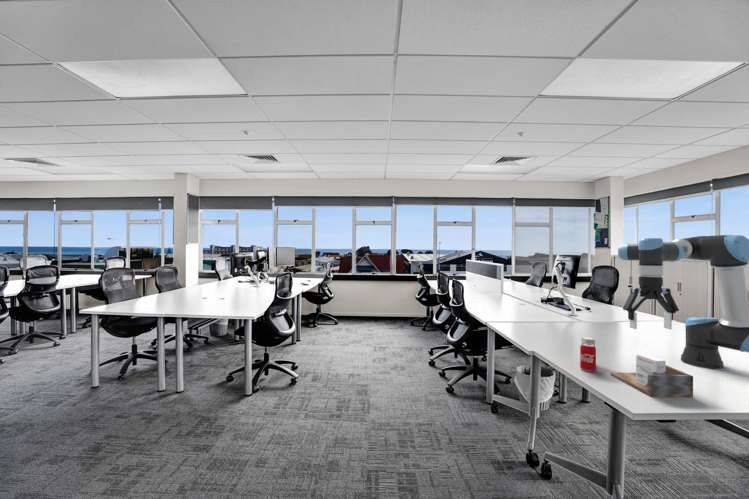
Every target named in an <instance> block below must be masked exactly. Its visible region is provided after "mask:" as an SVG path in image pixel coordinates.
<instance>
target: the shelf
mask: <svg viewBox="0 0 749 499" xmlns="http://www.w3.org/2000/svg"><path fill="white" fill-rule="evenodd" d="M610 376H612V377H613V378H616V379H617V380H618V381H619V380H620V382H623V383H625V384H626V385H628V386H630V387H632V388H633V389H635V390H637V391H638V392H640V393H642V394H645V395H646V396H648V397H650V398H651V397H653V398H657V397H658V398H685V399H687V398H692V399H693V398H694V375H691V374H689V373H687V372H684V371H682V370H679V369H676V368H674V367H672V366H669V365H666V375H661V374H648V387H646V386H643V385H641V384H638V383H636V372H613V371H611V372H610Z"/></svg>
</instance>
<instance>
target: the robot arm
mask: <svg viewBox="0 0 749 499" xmlns="http://www.w3.org/2000/svg"><path fill="white" fill-rule="evenodd" d="M617 255H618V257H619V259H621V260H622V261H638V275H639V276H638V285H639V288H638V287H631V289H630V292H629V295H628V296H627V297H628V298H627V299H626V301H625V302H624V305H623V307H622V310H624V311H626V312H627V315H628V316H627V319H628V320H629V329H634V330H637V329H638V328H637V327H638V313H637V312H636V311H637V310H638V309H639V308H640V306H641V305H643V303H644V302H645V301H647V300H656V301H657V302H658V303H659V305H660V306H661V307H662V308H663V309H664V312H663V329H667V330H672V327H673V326H672V323H673V322H672V321H674V314H676V312H679V311H680V309H679V308H678V305H677V304H676V301H675V300H674V298H673V295H672V293H671V292H672V290H671V289H670V288H668V287H663V286H664V278H663V276H664V262H669V263H672V262H677V261H678V262H679V261H680V260H695V261H709V264H710V267H712V268H713V269H714V270H715V273H716V279H717V281H716V282H717V286H718V294H719V301H720V307H721V314H722V317H721V319H719V318H717V317H708V316H694V317H693V316H692V317H691V316H690V317H688V318H686V320H685V326H684V327H685V347H684V348H683V352H682V354H681V355H680V361H681V362H683V363H685V364H688V365H690V366H691V365H692V366H696V367H700V368H705V369H706V368H707V369H715V370H716V369H718V370H719V369H723V368H724V365H725V364H724V360H722V356H721V353H720V351H719V347H720V348H724V349H729V350H734V351H738V352H742V353H749V298H748V292H747V285H746V284H747V283H746V278H745V276H746V275H745V270H744V268H745V267H747V266H748V264H749V238H747V237H746V236H744V235H741V234H735V235H734V234H721V235H699V236H698V235H697V236H691V237H686V238H684V237H683V238H677V239H674V240H672V241H664V240H663V238H661V237H659V238H658V237H646V238H645V237H643V238H641V239H639V241H638V243H625V244H621V245H619V247H618V249H617Z"/></svg>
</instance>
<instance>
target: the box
mask: <svg viewBox="0 0 749 499" xmlns="http://www.w3.org/2000/svg"><path fill="white" fill-rule="evenodd" d="M582 343H590V344H593V345H595V346H596V339H594V338H592V337H591V336H589V337H587V336H586V337H585V336H581V344H582Z"/></svg>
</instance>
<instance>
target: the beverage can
mask: <svg viewBox="0 0 749 499" xmlns="http://www.w3.org/2000/svg"><path fill="white" fill-rule="evenodd" d="M579 350H580V351H579V367H580V369H582V371H585V372H590V373H591V372H595V371H596V370H597V348H596V344H595V345H593V344H590V343H582V342H581V345H580V346H579Z"/></svg>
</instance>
